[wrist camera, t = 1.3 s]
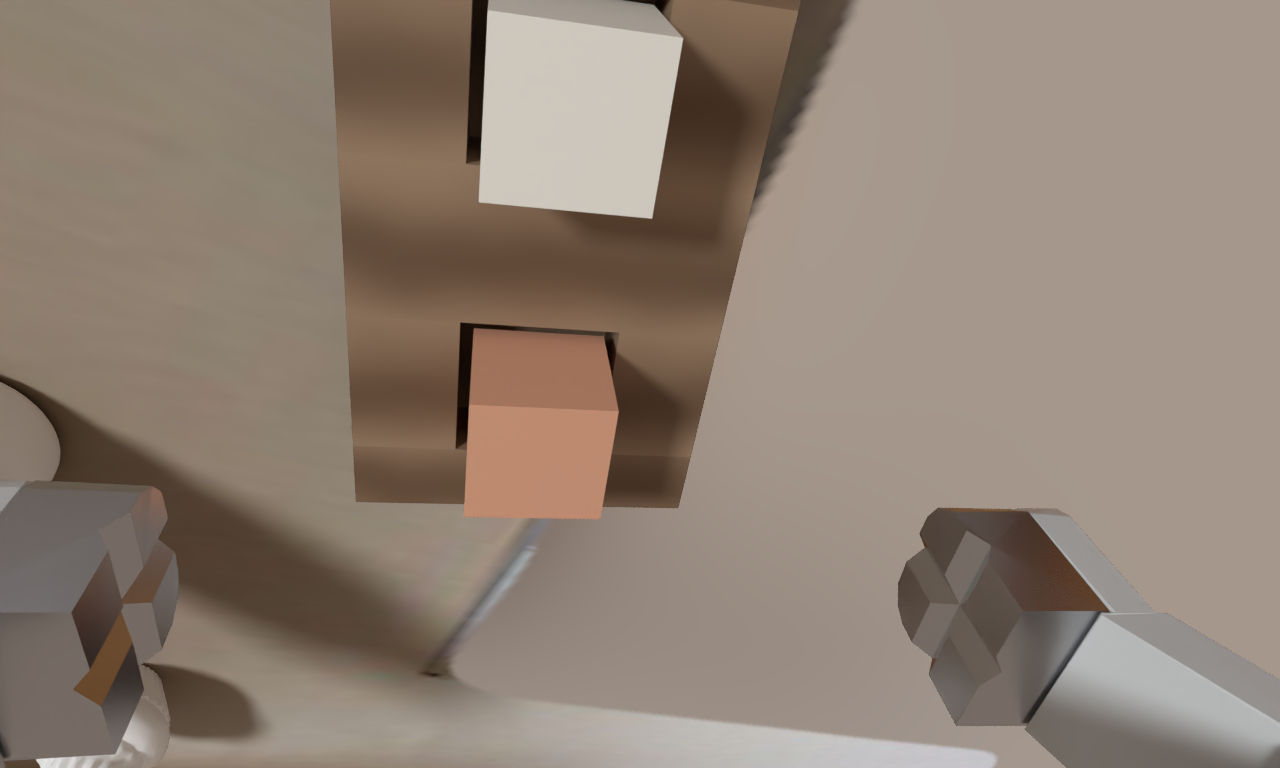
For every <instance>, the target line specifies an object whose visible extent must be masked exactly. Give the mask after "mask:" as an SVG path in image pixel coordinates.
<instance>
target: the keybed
mask: <svg viewBox="0 0 1280 768" xmlns="http://www.w3.org/2000/svg"><path fill="white" fill-rule="evenodd" d="M625 1H632V2H638V3H645V4H652V5H654V6H655V7H656V8H657V9H658V10H659V11H660V12H661V14H662V15H663V16H664V17H665V18H666V19H667V20H668V21H669V22H670V24H671V25H672V26H673V27H674V28H675V29H676V30H677V31H678V33H679V34H680V35H681V36H682V37H683V43H682V49H681V54H680V60H679V66H678V72H677V77H676V83H675V89H674V95H673V101H672V106H671V112H670V118H669V124H668V130H667V135H666V141H665V147H664V153H663V159H662V164H661V170H660V176H659V182H658V187H657V193H656V199H655V205H654V211H653V216H652V219H650V218H639V217H629V216H618V215H607V214H597V213H586V212H576V211H565V210H554V209H544V208H533V207H523V206H512V205H501V204H491V203H480V202H479V183H480V162H481V141H482V119H483V98H484V77H485V55H486V34H487V13H488V0H330V10H331V29H332V49H333V68H334V87H335V107H336V126H337V145H338V165H339V184H340V203H341V223H342V242H343V261H344V281H345V300H346V319H347V339H348V358H349V377H350V397H351V416H352V435H353V455H354V474H355V493H356V502H386V503H437V504H464V503H465V482H466V460H467V439H468V418H469V398H470V382H471V365H472V349H473V332H474V328H479V329H495V330H511V331H527V332H542V333H558V334H574V335H590V336H604V340H605V345H606V350H607V355H608V360H609V365H610V370H611V375H612V380H613V385H614V390H615V395H616V400H617V405H618V410H619V413H618V419H617V425H616V431H615V436H614V442H613V448H612V454H611V459H610V465H609V471H608V477H607V483H606V488H605V494H604V500H603V506H602V507H644V508H649V507H650V508H678V507H679V503H680V499H681V494H682V490H683V486H684V482H685V478H686V474H687V470H688V465H689V461H690V457H691V453H692V449H693V445H694V441H695V437H696V432H697V428H698V424H699V420H700V416H701V412H702V408H703V403H704V400H705V395H706V391H707V387H708V383H709V378H710V375H711V371H712V367H713V362H714V358H715V354H716V350H717V346H718V341H719V338H720V333H721V329H722V325H723V321H724V316H725V313H726V309H727V304H728V300H729V296H730V292H731V288H732V284H733V280H734V276H735V272H736V267H737V263H738V259H739V255H740V251H741V247H742V243H743V239H744V234H745V230H746V226H747V222H748V218H749V214H750V210H751V206H752V201H753V197H754V193H755V189H756V185H757V181H758V177H759V173H760V168H761V164H762V160H763V156H764V152H765V148H766V144H767V139H768V135H769V131H770V127H771V123H772V119H773V115H774V111H775V106H776V102H777V98H778V94H779V90H780V86H781V82H782V78H783V73H784V69H785V65H786V61H787V57H788V53H789V49H790V45H791V40H792V36H793V32H794V28H795V24H796V20H797V16H798V12H799V7H800V3H801V0H625Z"/></svg>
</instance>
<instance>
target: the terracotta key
mask: <svg viewBox="0 0 1280 768" xmlns="http://www.w3.org/2000/svg"><path fill="white" fill-rule="evenodd" d="M618 413H619V410H618V405H617V400H616V395H615V390H614V385H613V380H612V375H611V370H610V365H609V360H608V355H607V350H606V345H605V340H604V336H590V335H574V334H558V333H542V332H527V331H511V330H495V329H479V328H474V332H473V349H472V365H471V382H470V398H469V418H468V439H467V460H466V482H465V503H464V517H501V518H563V519H567V518H568V519H600V517H601V511H602V506H603V500H604V494H605V488H606V483H607V477H608V471H609V465H610V459H611V454H612V448H613V442H614V436H615V431H616V425H617V419H618Z"/></svg>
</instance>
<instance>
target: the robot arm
mask: <svg viewBox="0 0 1280 768" xmlns="http://www.w3.org/2000/svg"><path fill="white" fill-rule="evenodd" d="M167 520H168V516H167V511H166V507H165V503H164V499H163V495H162V492H161V491H159V490H158V489H156V488H155V487H153V486H143V485H123V484H102V483H81V482H61V481H40V480H36V481H34V482H32V481H20V480H0V768H5V762H4V761H12V760H29V759H45V758H62V757H79V756H96V755H113V754H116V752H117V750H118V747H119V745H120V743H121V741H122V738H123V736H124V734H125V732H126V729H127V727H128V725H129V723H130V721H131V718H132V716H133V714H134V712H135V709H136V707H137V705H138V703H139V700H140V698H141V696H142V694H143V691H144V686H143V682H142V678H141V674H140V670H139V666H140V665H141V664H143V663H144V662H146V661H147V660H148V659H150V658H151V657H152V656H154V655H155V654H156V653H158V652H159V651H160V650H162V648H163V645H164V643H165V641H166V638H167V636H168V633H169V631H170V628H171V626H172V623H173V618H174V614H175V609H176V604H177V599H178V594H179V588H178V566H177V560H176V555H175V552H174V551H173V550H171V549H170V548H169V547H168V546H167V545H165V544H164V543H163V542H162V541H161V540H159V539H158V537H159V535H160V533H161V532H162V530H163V528H164V526H165V524H166V522H167ZM920 536H921V539H922V541H923V544H924V546H925V548H924V549H923V550H921V551H920V552H919V553H917V554H916V555H915V556H913V557H912V558H911V559H910V560H908V561H907V562H906V565H905V567H904V570H903V573H902V575H901V577H900V580H899V582H898V608H899V612H900V616H901V620H902V623H903V626H904V628H905V630H906V631H907V633H908V636H909V637H910V639H911V641H912V642H913V643H914V644H915V645H917V646H918V647H919V648H920V649H922V650H923V651H924V652H925V653H927V654H928V655H929V656H931V657H932V662H931V667H930V671H929V676H930V678H931V680H932V681H933V683H934V685H935V687H936V689H937V691H938V693H939V694H940V696H941V698H942V700H943V702H944V704H945V706H946V708H947V710H948V711H949V713H950V715H951V717H952V719H953V720H954V723H955V724H956V726H1027V727H1026V728H1025V730H1026V731H1027V732H1028V733H1029V734H1030V735H1031V736H1033V738H1035V739H1036V740H1037V741H1038V742H1039V743H1040V744H1041V745H1042V746H1043V747H1045V748H1046V749H1047V750H1048V751H1049V752H1050V753H1051V754H1052V755H1053V756H1054V757H1055V758H1056V759H1058V760H1059V761H1060V762H1061V763H1062V764H1063V765H1064V766H1065V767H1066V768H1280V679H1278V678H1276V677H1275V676H1273V675H1271V674H1270V673H1268V672H1266V671H1264V670H1263V669H1261V668H1259V667H1258V666H1256V665H1254V664H1253V663H1251V662H1249V661H1248V660H1246V659H1244V658H1242V657H1241V656H1239V655H1237V654H1236V653H1234V652H1232V651H1231V650H1229V649H1227V648H1225V647H1224V646H1222V645H1220V644H1219V643H1217V642H1215V641H1214V640H1212V639H1210V638H1208V637H1207V636H1205V635H1203V634H1202V633H1200V632H1198V631H1197V630H1195V629H1193V628H1191V627H1190V626H1188V625H1186V624H1185V623H1183V622H1181V621H1179V620H1178V619H1176V618H1174V617H1173V616H1171V615H1169V614H1168V613H1155V612H1154V611H1153V610H1152V609H1151V608H1150V607H1149V605H1148V604H1147V603H1146V602H1145V601H1144V600H1143V599H1142V597H1140V595H1139V594H1138V593H1137V592H1136V591H1135V590H1134V588H1133V587H1132V586H1131V585H1130V584H1129V583H1128V582H1127V580H1126V579H1125V578H1124V577H1123V576H1122V575H1121V574H1120V572H1119V571H1118V570H1117V569H1116V568H1115V567H1114V566H1113V564H1112V563H1111V562H1110V561H1109V560H1108V559H1107V558H1106V557H1105V555H1104V554H1103V553H1102V552H1101V551H1100V550H1099V549H1098V547H1097V546H1096V545H1095V544H1094V543H1093V542H1092V541H1091V539H1090V538H1089V537H1088V536H1087V535H1086V534H1085V533H1084V532H1083V530H1082V529H1081V528H1080V527H1079V526H1078V525H1077V524H1076V522H1075V521H1074V520H1073V519H1072V518H1071V517H1070V516H1068V515H1067V514H1065V513H1063V512H1061V511H1059V510H1057V509H1015V510H1011V509H972V508H937V509H936V510H935V511H934V512H933V513H931V515H929V516H928V517H927V519H926V521H925V523H924V526H923V527H922V529H921V531H920Z"/></svg>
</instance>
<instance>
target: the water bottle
mask: <svg viewBox="0 0 1280 768" xmlns="http://www.w3.org/2000/svg"><path fill="white" fill-rule="evenodd" d="M59 462H60V444H59V440H58V437H57V435H56V432H55V430H54V428H53V426H52V424H51V423H50V421H49V420H48V419H47V417H46V416H45V415H44V413H43V412H42V411H41V410H40V409H39V408H38V407H37V406H36V405H35V404H34V403H33V402H31V401H30V400H29V399H28V398H26V397H25V396H24V395H22V394H21V393H19V392H18V391H16V390H15V389H13V388H11V387H9V386H8V385H6V384H4V383H2V382H0V480H20V481H32V482H34V481H36V480H40V481H52V479H53V477H54V475H55V473H56V471H57V468H58V466H59Z"/></svg>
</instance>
